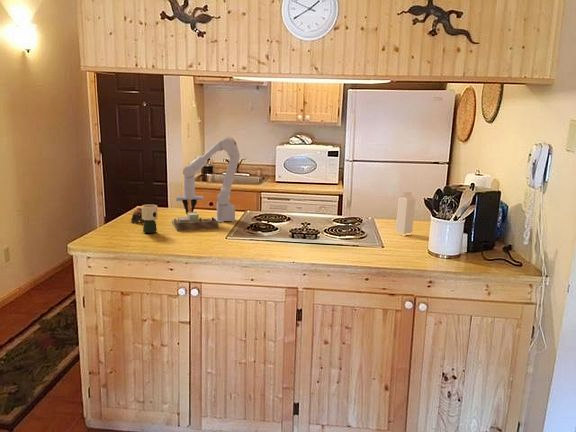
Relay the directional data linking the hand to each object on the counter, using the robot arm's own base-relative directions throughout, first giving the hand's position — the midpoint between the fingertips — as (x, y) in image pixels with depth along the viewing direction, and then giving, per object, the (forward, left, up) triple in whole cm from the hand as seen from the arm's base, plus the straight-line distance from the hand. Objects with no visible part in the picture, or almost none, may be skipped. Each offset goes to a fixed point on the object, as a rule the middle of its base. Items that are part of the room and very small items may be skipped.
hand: (189, 213), depth 268 cm
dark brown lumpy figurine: (+25, +2, -3) cm, 25 cm away
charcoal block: (+6, +19, -3) cm, 20 cm away
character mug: (+23, +24, -3) cm, 33 cm away
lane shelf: (0, +15, -3) cm, 15 cm away
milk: (-99, +54, -3) cm, 113 cm away
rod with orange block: (0, +6, -2) cm, 6 cm away
